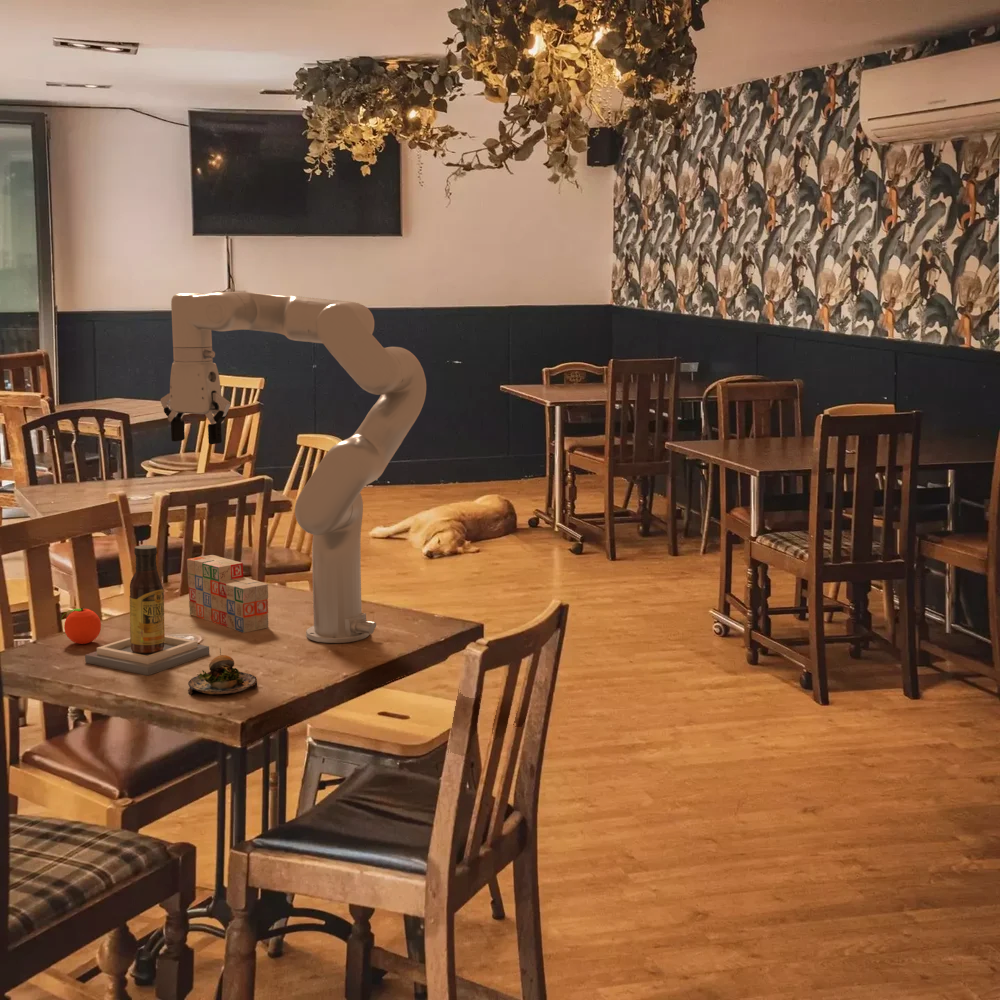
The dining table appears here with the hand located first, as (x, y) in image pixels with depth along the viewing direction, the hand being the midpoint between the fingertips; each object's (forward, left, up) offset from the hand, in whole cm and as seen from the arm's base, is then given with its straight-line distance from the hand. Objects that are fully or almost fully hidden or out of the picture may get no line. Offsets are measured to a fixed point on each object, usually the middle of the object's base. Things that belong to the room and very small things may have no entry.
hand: (196, 442), depth 272 cm
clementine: (+12, +21, -38) cm, 46 cm away
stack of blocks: (-1, -7, -38) cm, 39 cm away
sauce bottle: (-7, +22, -37) cm, 43 cm away
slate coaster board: (-7, +22, -38) cm, 45 cm away
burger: (-32, +29, -39) cm, 58 cm away
